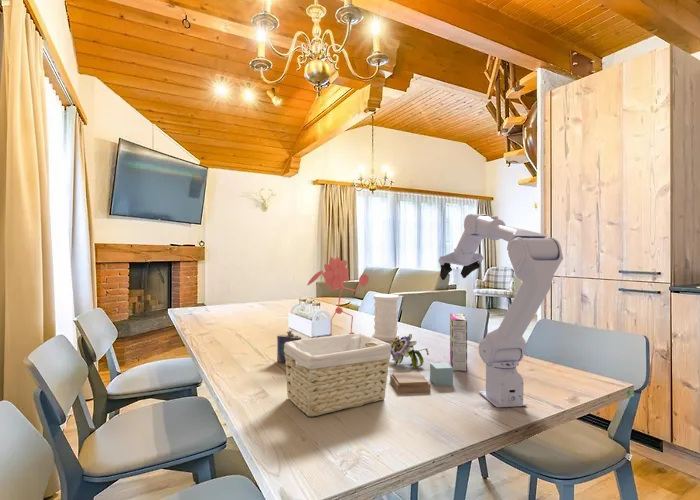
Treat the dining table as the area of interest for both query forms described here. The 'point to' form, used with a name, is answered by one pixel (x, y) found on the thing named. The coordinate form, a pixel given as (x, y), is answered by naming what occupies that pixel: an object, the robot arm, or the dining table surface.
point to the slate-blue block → (441, 374)
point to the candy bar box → (458, 342)
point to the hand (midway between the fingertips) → (452, 276)
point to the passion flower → (405, 350)
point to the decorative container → (385, 317)
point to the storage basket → (336, 372)
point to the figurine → (338, 280)
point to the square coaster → (409, 382)
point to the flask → (280, 345)
